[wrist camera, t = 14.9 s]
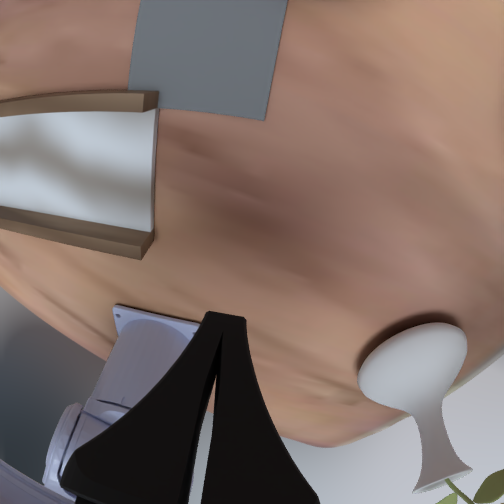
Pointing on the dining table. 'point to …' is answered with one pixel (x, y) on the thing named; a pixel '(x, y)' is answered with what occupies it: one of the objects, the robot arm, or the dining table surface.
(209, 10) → the mat
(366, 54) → the dining table surface
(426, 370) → the flower in vase
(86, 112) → the lane
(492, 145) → the dining table surface
